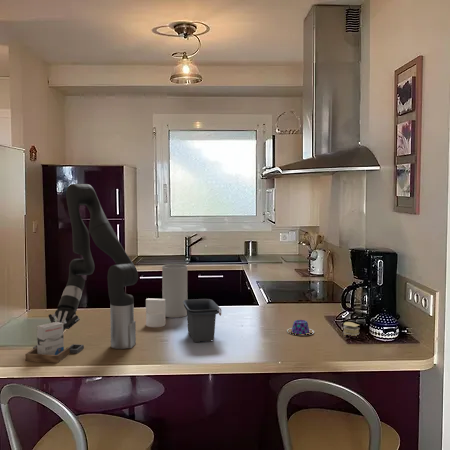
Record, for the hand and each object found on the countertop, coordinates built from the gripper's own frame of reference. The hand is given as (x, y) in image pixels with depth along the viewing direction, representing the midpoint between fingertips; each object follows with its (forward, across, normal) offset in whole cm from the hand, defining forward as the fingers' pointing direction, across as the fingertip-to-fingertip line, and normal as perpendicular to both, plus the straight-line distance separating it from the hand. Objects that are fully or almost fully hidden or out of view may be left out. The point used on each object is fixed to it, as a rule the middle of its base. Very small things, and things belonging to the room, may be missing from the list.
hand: (57, 337), depth 188 cm
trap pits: (+3, 0, +4) cm, 5 cm away
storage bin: (-15, +53, +23) cm, 60 cm away
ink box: (+7, 0, 0) cm, 7 cm away
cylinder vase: (-38, +33, +46) cm, 68 cm away
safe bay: (+9, 0, -1) cm, 9 cm away
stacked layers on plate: (-22, +116, +30) cm, 122 cm away
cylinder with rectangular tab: (-25, +28, +33) cm, 50 cm away
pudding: (-24, +95, +32) cm, 103 cm away
